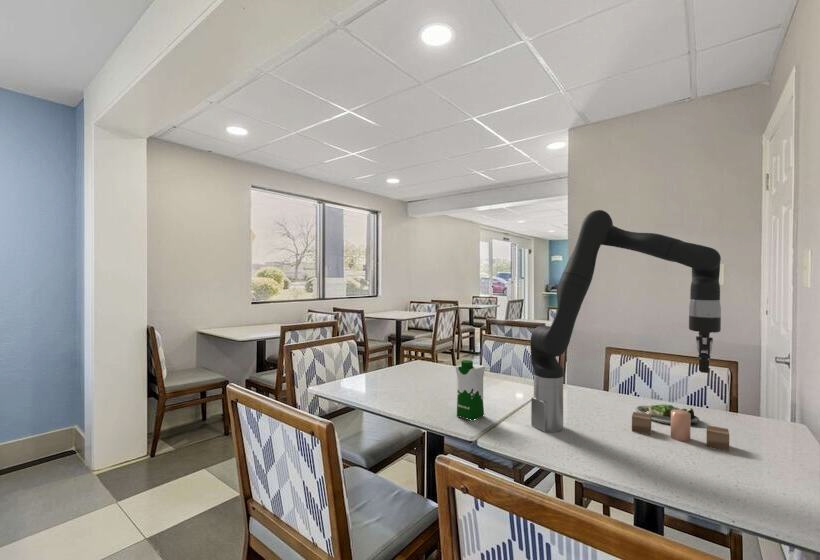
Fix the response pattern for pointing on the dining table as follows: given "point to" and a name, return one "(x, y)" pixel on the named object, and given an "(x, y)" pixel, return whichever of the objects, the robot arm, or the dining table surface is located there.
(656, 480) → the dining table surface
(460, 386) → the milk carton
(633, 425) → the back walnut cube
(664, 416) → the salad plate
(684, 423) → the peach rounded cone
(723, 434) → the front walnut cube
